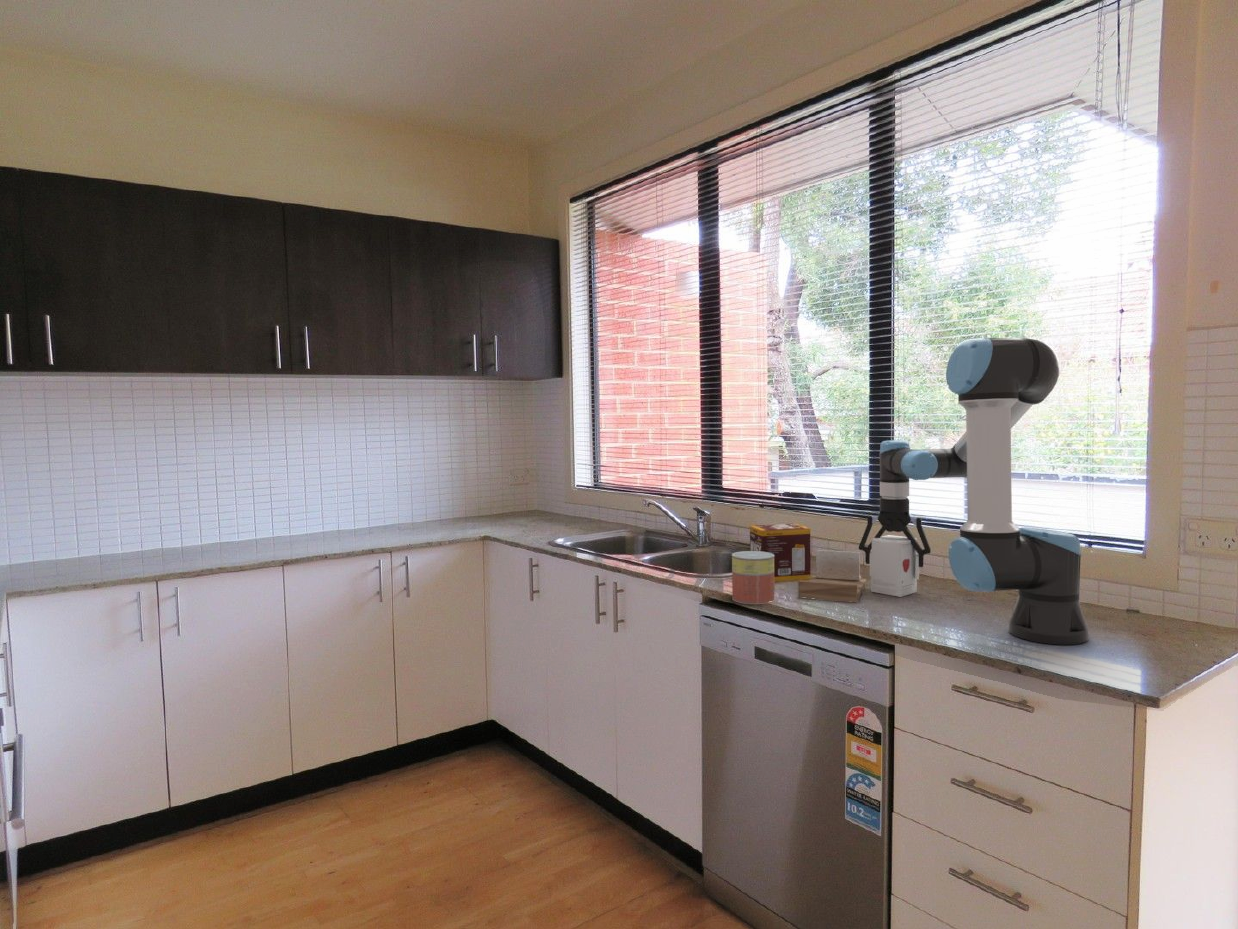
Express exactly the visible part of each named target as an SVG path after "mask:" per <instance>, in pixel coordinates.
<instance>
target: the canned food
mask: <svg viewBox="0 0 1238 929" xmlns="http://www.w3.org/2000/svg"><path fill="white" fill-rule="evenodd" d="M774 556H775V555H774V554H772V553H769V552H763V551H750V550H742V551H736V552H733V553H732V554H731V573H732V574H731V577H732V578H731V579H732V580H731V582H732V584H731V586H732V587H731V588H732V589H731V590H732V592H731V594H732V597H731V600H733V602H736V603H740V604H745V605H766V604H769V603H768V602H769V601H773V600H774V598H775V582H774ZM774 601H775V600H774ZM774 601H773V602H774Z"/></svg>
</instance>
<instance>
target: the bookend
mask: <svg viewBox="0 0 1238 929" xmlns="http://www.w3.org/2000/svg"><path fill="white" fill-rule="evenodd" d="M860 554H861V553H860V551H847V550H845V551H844V550H843V551H842V550H826V549H823V550H822V549H816V550H815V567H816V568H815V573H816V574H815V576H816V578H827V579H842V580H856V581H860V579H862V575H861V574H860V572H861V569H860V568H861V566H860V564H861V563H860V561H861V557H860V556H861V555H860Z"/></svg>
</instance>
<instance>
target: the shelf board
mask: <svg viewBox="0 0 1238 929" xmlns="http://www.w3.org/2000/svg"><path fill="white" fill-rule="evenodd" d="M797 584H798V587H797V588H798V592H797V593H798V595H797V597H806V598H815V599H814V600H818V599H824V600H823V601H830V600H833V602H834V601H835V602H843V601H852V602H851V603H855V602H857V603H858V602H859V599H860V597H861V595H862V593H863V592H862V591H864V590H865V588H866V585H867V579H866V578H861V579H860V581H856V580H842V579H827V578H816V575H812V576H811V579H810V580H799V581H798V583H797ZM863 589H864V590H863ZM806 598H805V599H806Z"/></svg>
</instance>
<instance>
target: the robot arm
mask: <svg viewBox="0 0 1238 929" xmlns="http://www.w3.org/2000/svg"><path fill="white" fill-rule="evenodd" d="M946 365H947V366H946V371H945V379H946V380H945V381H946V384H947V385H948V389H949V390H950V391H951V392H952V393H954V394H956V395H957V397H958V399H957V400H958V404H959V405H960V406H961V407H963V409H964V410H965V413H966V414H965V420H966V421H965V424H966V425H965V427H966V429H965V430H966V431H965V432H964V433H963V434H962V435H961V437H960V438H959V439H958V440H957V442H956V443H955V444H954V445H953V446H952V447H951V448H950V447H949V448H933V449H932V448H927V449H923V448H922V449H911V447H910V442H908V440H901V439H900V440H898V439H897V440H893V439H891V440H883V441H882V442H881V443H880V446H879V447H880V448H879V454H878V456H879V496H880V498H879V514H878V515H872V514H870V515H868V516H867V524H866V527H865V530H864V532H863V535H862V537H861V540H860V543H859V544H858V550H859V551H863V552H864V554H865V555H864V556H865V561H864V562H865V564H866V565H869V577H870V578H871V559H872V540H871V541H870V543H868V545H867V546H866V543H867V540H868V537H869V535H870V532H871V530H872V528H873V525H874V524H876V523H877V521H878V523H879V524H880V525H881V527H880V529H879V530H878V532H877V533H876V534H875V535H874V537H873V538H880V537H881V536H882V535H883V534H884V533H885V531H887V532H889V533H890V532H891V533H892V532H896V533H901V532H902V533H903V534H904V536H905V537H907V538H908V540H911V544H912V545H913V547H914V548H915V550H916V551H917V554H916V561H915V580H917V581H919V578H920V568H923V567H924V556H925V555H928V554H930V553H931V550H932V549H931V546H930V543H929V540H928V539H927V536H926V533H925V531H924V527H923V525H922V524H923V523H922V521H923V519H922V517H921V516H915V517H914V516H913V517H912V516H911V515H910V499H909V498H908V497H909V496H910V480H914V481H926V480H929V479H945V478H946V479H947V478H965V479H966V494H967V495H966V497H967V498H966V500H967V502H966V503H967V505H966V506H967V512H966V513H967V521H966V522H964V523H963V524H962V525H961V526H960V528H959V536H958V537H956V538H954V539H952V540H951V542H950V545H949V548H948V563H949V566H950V570H951V571H952V574H953V577H954V578H955V579H956V582H957V583H959V584H960V585H961V587H963V588H964V589H966V590H967V591H970V592H985V593H991V592H1001V591H1003V592H1004V591H1018V592H1017V594H1018V596H1017V599H1016V602H1015V604H1014V608H1013V610H1012V613H1011V615H1010V618H1009V621H1008V632H1009V633H1010V634H1011V635H1013V636H1015V637H1017V638H1020V639H1023V640H1026V641H1029V642H1030V641H1031V642H1036V643H1040V644H1049V645H1063V646H1064V645H1080V644H1085V643H1086V642H1088V640H1089V627H1088V624H1087V622H1086V618H1085V616H1084V612H1083V610H1082V606H1081V603H1080V583H1081V580H1080V579H1081V558H1082V553H1081V541H1080V538H1078V536H1076V535H1075V534H1072V533H1069V532H1065V531H1064V532H1063V531H1058V530H1053V529H1052V530H1051V529H1044V528H1036V527H1027V526H1025V527H1019V526H1017V525H1016V524H1015V523H1014V521H1013V511H1012V508H1013V507H1012V500H1013V499H1012V428H1013V427H1014V426H1015V425H1016V424H1017V423H1018V422H1019V421H1020V420H1021V419H1022V417H1023V416H1025V414H1026V413H1027V412H1028V411H1029V410H1030V409H1031V407H1032V406H1035V405H1039V404H1040V403H1042V402H1044V400H1045V399H1046V398H1048V396H1049V395H1050V394H1051V393H1052V391H1053V390H1054V388H1055V387H1056V384H1057V383H1058V380H1059V376H1060V370H1061V369H1060V368H1061V366H1060V360H1059V358H1058V356H1057V353H1056V352H1055V351H1054V349H1053V348H1052V347H1051V346H1050V345H1049V344H1047V343H1046V342H1044V341H1043V340H1040V339H1038V338H1034V337H979V338H967V339H965V340H963V341H962V342H959V343H958V344H957V345H956V347H954V349H953V351H952V353H951V354H950V356H949V358H948V361H947V364H946ZM911 522H912V525H913V526H916V530H917V533H918V535H919V538H920V541H921V543H922V546H923V549H922V547H921V544H919V542H918V540H917V541H916V540H915V538H916V537H915V536H914V535H913V534H912V532H911V531H910V529H909V527H908V525H909V524H910V523H911Z"/></svg>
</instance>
